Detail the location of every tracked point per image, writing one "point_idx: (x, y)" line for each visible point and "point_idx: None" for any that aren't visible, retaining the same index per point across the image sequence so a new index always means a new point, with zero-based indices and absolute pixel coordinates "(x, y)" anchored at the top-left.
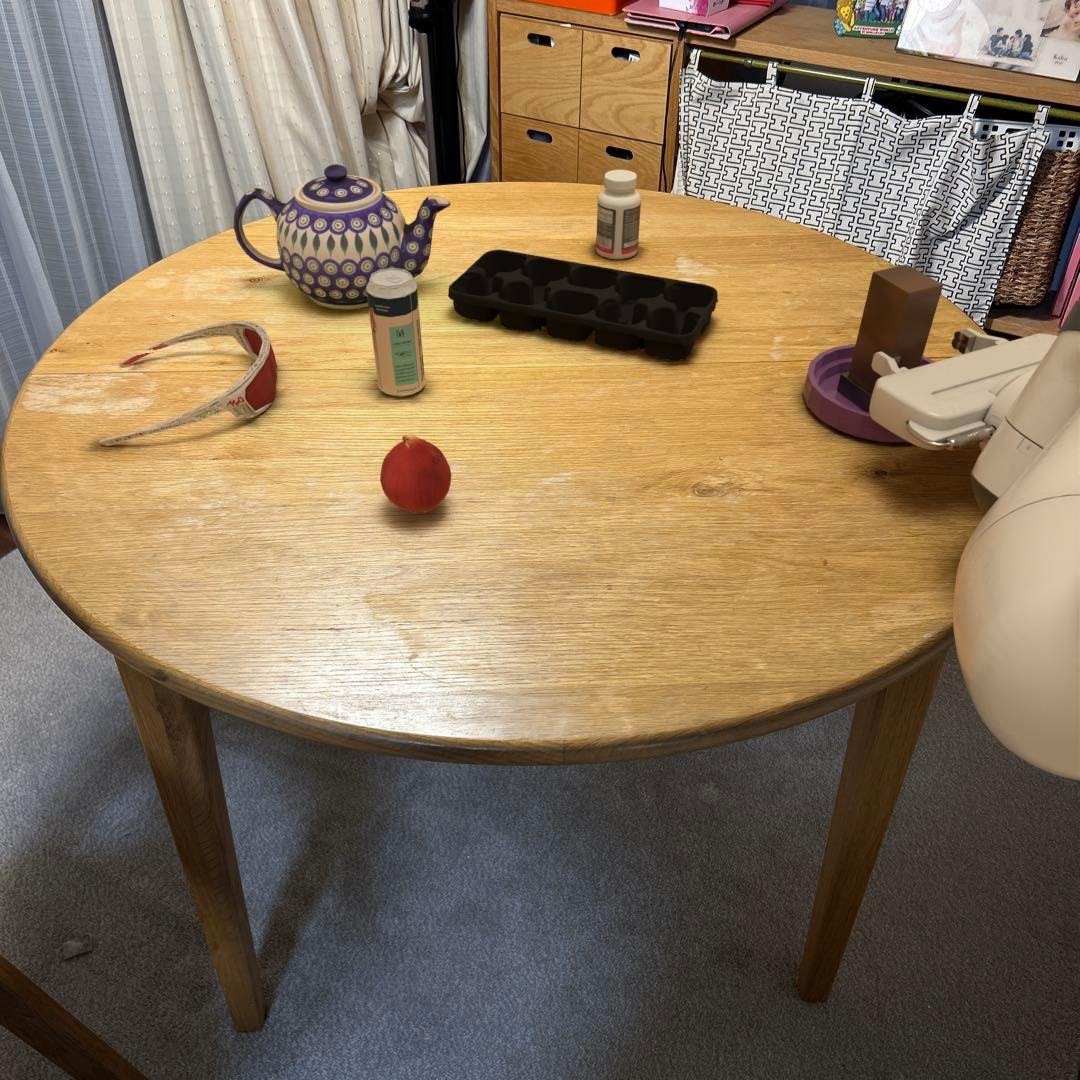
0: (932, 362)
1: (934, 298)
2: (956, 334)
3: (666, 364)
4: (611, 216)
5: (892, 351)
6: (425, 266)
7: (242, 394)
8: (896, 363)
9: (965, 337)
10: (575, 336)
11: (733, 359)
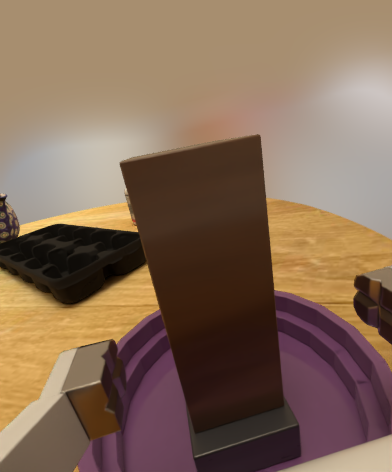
0: (343, 325)
1: (244, 181)
2: (359, 283)
3: (59, 307)
4: (128, 199)
5: (103, 351)
6: (7, 235)
7: None
8: (20, 437)
9: (388, 295)
10: (27, 279)
11: (122, 301)
